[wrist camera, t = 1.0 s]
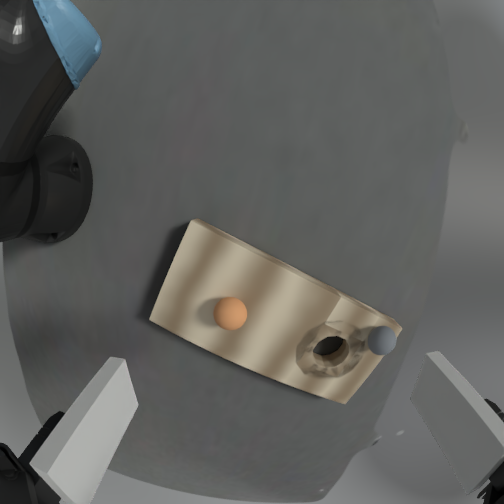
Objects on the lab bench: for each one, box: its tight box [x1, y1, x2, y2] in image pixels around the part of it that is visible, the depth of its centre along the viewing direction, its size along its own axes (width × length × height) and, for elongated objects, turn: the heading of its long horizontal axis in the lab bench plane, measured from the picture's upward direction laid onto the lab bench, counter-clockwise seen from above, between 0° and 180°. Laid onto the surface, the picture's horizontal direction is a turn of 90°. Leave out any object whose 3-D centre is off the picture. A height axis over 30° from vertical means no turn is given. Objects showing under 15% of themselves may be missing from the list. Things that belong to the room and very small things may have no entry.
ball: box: [213, 297, 247, 330], centre depth 28 cm, size 4×4×4 cm
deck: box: [149, 218, 402, 404], centre depth 32 cm, size 28×13×3 cm, turn 63°
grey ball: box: [368, 326, 396, 355], centre depth 28 cm, size 4×4×4 cm
